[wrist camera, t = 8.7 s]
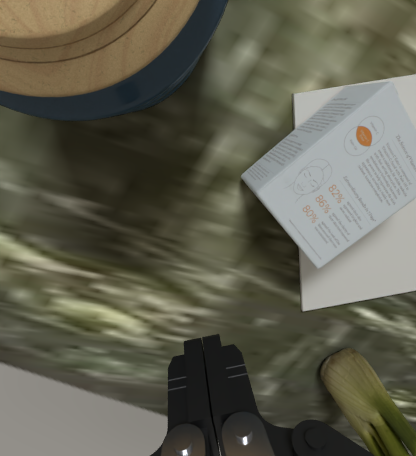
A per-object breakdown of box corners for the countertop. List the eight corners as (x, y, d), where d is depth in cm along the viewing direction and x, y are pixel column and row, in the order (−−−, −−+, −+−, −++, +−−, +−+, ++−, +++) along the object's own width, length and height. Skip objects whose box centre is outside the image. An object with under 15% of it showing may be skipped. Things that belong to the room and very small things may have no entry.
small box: (292, 241, 28) (394, 164, 27) (318, 272, 23) (447, 178, 21) (238, 174, 26) (347, 83, 24) (253, 192, 20) (394, 77, 19)
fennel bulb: (342, 334, 33) (425, 449, 22) (372, 353, 35) (465, 470, 24) (305, 370, 35) (366, 495, 24) (335, 387, 36) (407, 512, 25)
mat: (292, 94, 24) (294, 93, 24) (467, 65, 25) (472, 65, 24) (301, 309, 32) (302, 311, 31) (435, 284, 32) (438, 286, 32)
